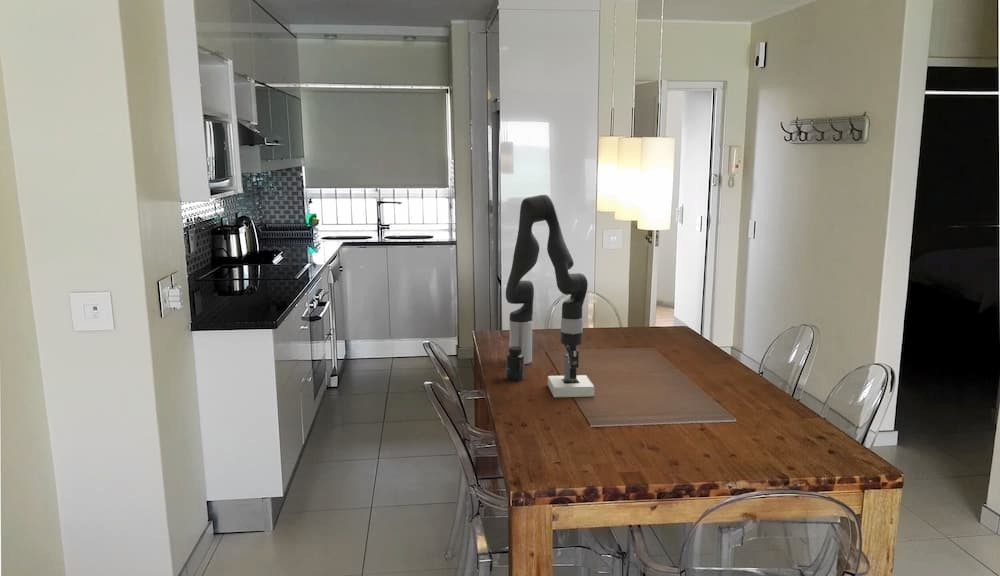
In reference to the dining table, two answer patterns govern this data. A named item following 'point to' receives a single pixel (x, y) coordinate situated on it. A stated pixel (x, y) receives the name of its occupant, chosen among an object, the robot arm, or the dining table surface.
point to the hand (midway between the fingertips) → (570, 375)
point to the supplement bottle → (515, 364)
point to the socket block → (570, 387)
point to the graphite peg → (568, 372)
